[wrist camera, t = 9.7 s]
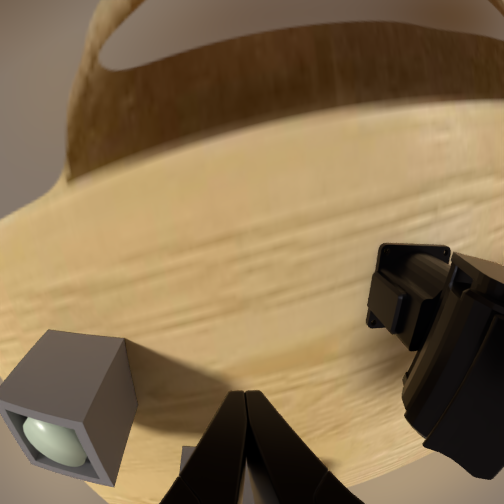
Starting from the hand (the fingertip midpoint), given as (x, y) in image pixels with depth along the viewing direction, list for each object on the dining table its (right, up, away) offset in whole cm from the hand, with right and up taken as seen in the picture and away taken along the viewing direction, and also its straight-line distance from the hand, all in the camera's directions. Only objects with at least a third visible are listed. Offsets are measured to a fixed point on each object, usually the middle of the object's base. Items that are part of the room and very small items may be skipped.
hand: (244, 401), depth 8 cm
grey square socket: (-13, -6, +14) cm, 20 cm away
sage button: (-13, -7, +8) cm, 17 cm away
